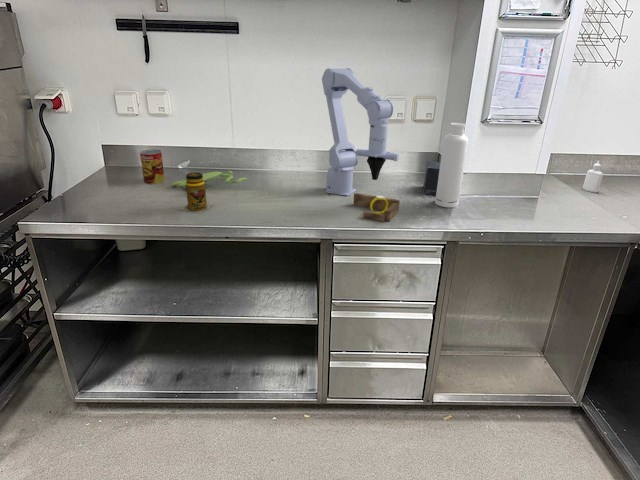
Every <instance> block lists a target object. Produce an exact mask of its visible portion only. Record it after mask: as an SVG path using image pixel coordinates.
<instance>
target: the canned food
mask: <svg viewBox="0 0 640 480" xmlns="http://www.w3.org/2000/svg"><path fill="white" fill-rule="evenodd" d="M139 156H140V163H141V169H142V175H143V183H144V184H146V185H159V184H162V183H165V182H166V177H165V176H166V175H165V168H164V162H163V154H162V150H160V149H157V148H156V149H155V148H154V149H153V148H152V149H144V150H140V151H139Z"/></svg>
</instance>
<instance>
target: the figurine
mask: <svg viewBox="0 0 640 480" xmlns="http://www.w3.org/2000/svg"><path fill="white" fill-rule="evenodd" d="M201 174H202V175H203V181H204V183H205V186H206V185H207V186H208V185H209V184H207V182H210V181H213V180H214V179H216V178H217V179H218V177H221V178H223V179H225V183H226V184H239V183H240V182H242V181H243V182H246V181H248V179H247V177H240V178H238V179H237V180H233V178H234V176H233V171H231V170H228V171H227V172H226V173H224V172H221V171H210V172H205V173H201ZM186 182H187V181H186V179H184V178H182V179H180V180H177V181H174V182H172V183H171V187H173V188H174V187H176V186H179V187H186ZM185 192H186V194H187V191H186V190H185Z"/></svg>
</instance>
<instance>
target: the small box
mask: <svg viewBox="0 0 640 480" xmlns="http://www.w3.org/2000/svg"><path fill="white" fill-rule="evenodd" d="M440 163H441V161H432V160H430V161H429V160H426V164H425V165H426V167H425V173H424V181H423V190H422V192H423V194H424V195H431V196H432V195H433V196H436V192H437V185H438V177H439V170H440Z"/></svg>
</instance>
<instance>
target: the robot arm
mask: <svg viewBox="0 0 640 480" xmlns="http://www.w3.org/2000/svg"><path fill="white" fill-rule="evenodd" d="M321 82H322V89H323V94H324V96H325V97H326V104H327V109H328V115H329V121H330V127H331V133H332V138H333V143H334V144H333V145H332V146H331V148H329V150H328V152H329V155H328V156H329V157H328V158H329V160H328V161H329V162H328V163H329V166H330V167H329V168H328V170H327V172H326V181H325V182H326V187H325V193H327V194H333V195H334V194H335V195H339V196H345V197H346V196H347V197H349V196H351V194H354V192H356V191H357V189H356V188H353V182H354V181H353V179H354V176H353V175H354V170H356V167H357V166H358V163H359V160H360V159H359V156H360V157H365V158H366V157H367V159H366V162H367V164H368V166H369V170H370V174H371V180H374V181H377V180H378V179H379V176H380V173H381V170H382V168H383V165H384V164H385V163H386V160H390V161H393V162H398V161H399V159H400V154H399V153H394V152H389V151H387V140H388V131H389V127H388V126H389V119H391V117H392V115H393V113H394V106H393V104H392V102H391V101H390V99H383V98H382V97H381V95H378V94H377V93H376V92H375V91H374V88H373V87H372V86H371V87H370V86H369V87H368V86H366V87H364V85H363V84H362V83H361V82H360V80H359V79H358V78H356V76H355V71H353V70H352V69H351V68H348V67H346V68H328V67H327V68H326V69H325V70H324V71H323V74H322V77H321ZM348 91H351V92H352V93H353V94H354V95H355V96H356V100H357V102H358V104H360V105H361V106H362V107H363V108H364V109H365V110H366V114H367V117H368V125H369V135H368V136H369V138H368V149H359V148H358V149H356V146H355V145H354V144H353V143H352V142H350V141H349V138H348V137H349V136H348V130H347V124H346V118H345V113H344V107H343V102H342V101H343V100H342V97H343V96H344V95H345V94H346V93H347V92H348Z"/></svg>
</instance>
